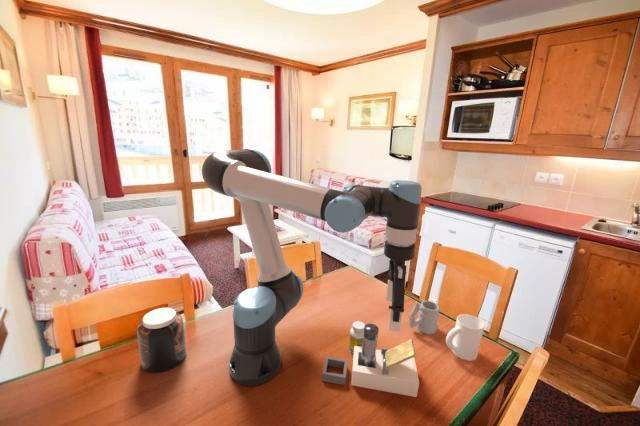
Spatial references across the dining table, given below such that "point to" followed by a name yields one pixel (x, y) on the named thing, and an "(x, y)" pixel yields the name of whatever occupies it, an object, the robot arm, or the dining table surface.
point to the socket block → (385, 375)
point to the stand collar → (332, 376)
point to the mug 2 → (466, 337)
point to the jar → (161, 340)
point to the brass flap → (399, 354)
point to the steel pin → (369, 345)
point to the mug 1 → (425, 317)
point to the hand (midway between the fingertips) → (392, 314)
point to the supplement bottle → (356, 335)
